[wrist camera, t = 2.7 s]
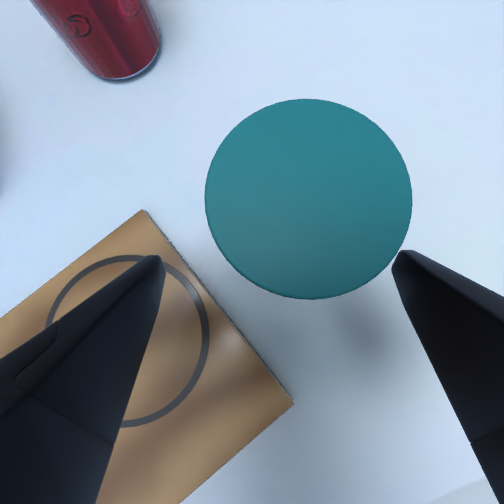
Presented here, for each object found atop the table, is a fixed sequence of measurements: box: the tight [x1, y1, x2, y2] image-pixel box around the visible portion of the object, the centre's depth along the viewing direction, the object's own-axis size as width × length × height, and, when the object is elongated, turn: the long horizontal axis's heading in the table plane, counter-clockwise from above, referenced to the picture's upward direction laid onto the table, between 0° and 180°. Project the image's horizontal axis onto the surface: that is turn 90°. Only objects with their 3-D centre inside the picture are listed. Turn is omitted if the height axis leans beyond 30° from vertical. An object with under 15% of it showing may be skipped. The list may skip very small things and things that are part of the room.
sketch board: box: [0, 210, 294, 504], centre depth 17 cm, size 18×15×1 cm
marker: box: [205, 99, 412, 300], centre depth 11 cm, size 3×3×14 cm
